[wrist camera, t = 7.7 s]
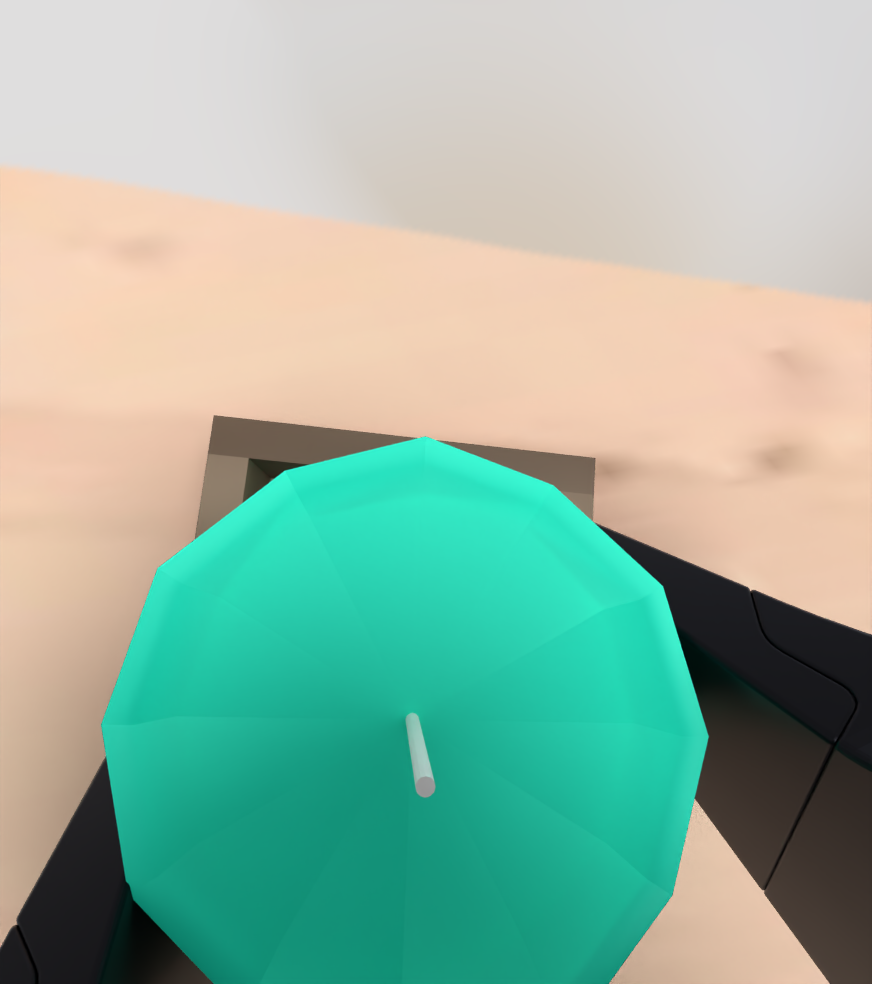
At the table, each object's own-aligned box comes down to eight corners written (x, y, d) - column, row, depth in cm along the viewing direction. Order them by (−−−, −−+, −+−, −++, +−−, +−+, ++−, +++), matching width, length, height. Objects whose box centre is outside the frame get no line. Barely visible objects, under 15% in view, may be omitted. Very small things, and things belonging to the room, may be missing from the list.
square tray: (533, 800, 18) (576, 861, 14) (199, 781, 17) (148, 841, 13) (552, 481, 19) (595, 458, 15) (247, 448, 18) (214, 415, 14)
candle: (538, 677, 16) (965, 946, 4) (346, 790, 15) (213, 1522, 3) (439, 490, 17) (572, 272, 5) (248, 588, 16) (-160, 613, 4)
